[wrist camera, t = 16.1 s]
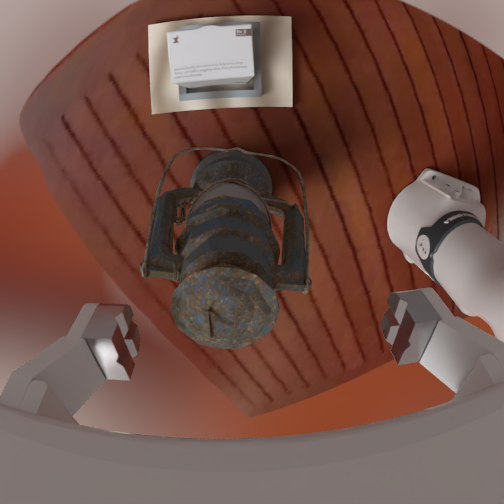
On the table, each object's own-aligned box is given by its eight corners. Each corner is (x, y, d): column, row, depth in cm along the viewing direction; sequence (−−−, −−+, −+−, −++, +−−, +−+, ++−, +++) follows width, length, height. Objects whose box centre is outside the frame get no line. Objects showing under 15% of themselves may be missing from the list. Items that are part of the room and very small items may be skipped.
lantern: (168, 219, 49) (108, 362, 24) (172, 133, 43) (79, 207, 17) (284, 232, 52) (326, 381, 26) (301, 148, 45) (388, 240, 19)
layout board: (289, 18, 34) (293, 13, 31) (290, 106, 41) (294, 107, 38) (151, 27, 34) (144, 22, 31) (154, 113, 41) (148, 115, 38)
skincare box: (189, 88, 38) (165, 88, 25) (186, 49, 35) (162, 31, 22) (249, 83, 38) (255, 79, 25) (247, 44, 35) (252, 21, 22)
